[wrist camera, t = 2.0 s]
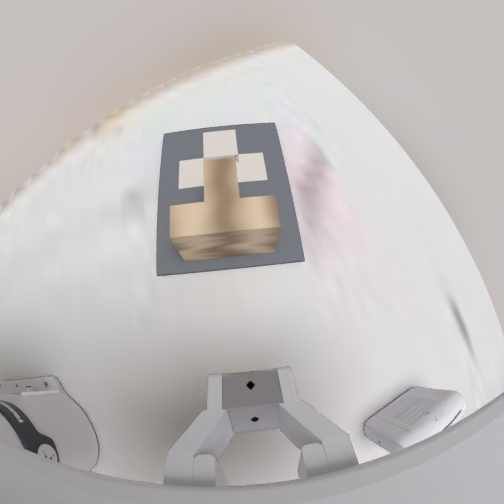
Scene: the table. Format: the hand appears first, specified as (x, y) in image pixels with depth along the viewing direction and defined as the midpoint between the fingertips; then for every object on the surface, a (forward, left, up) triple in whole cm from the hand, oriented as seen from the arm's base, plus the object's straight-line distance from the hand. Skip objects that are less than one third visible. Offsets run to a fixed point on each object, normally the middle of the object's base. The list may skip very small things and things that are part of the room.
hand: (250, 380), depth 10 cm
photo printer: (+19, -12, -25) cm, 34 cm away
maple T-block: (-1, +19, -24) cm, 31 cm away
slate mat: (-1, +25, -25) cm, 35 cm away
